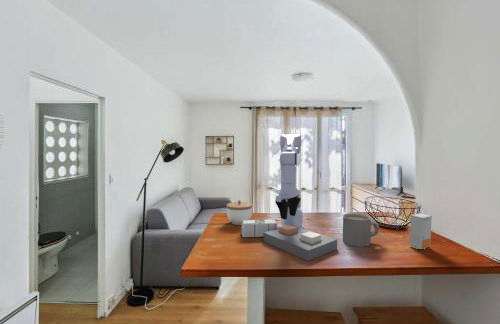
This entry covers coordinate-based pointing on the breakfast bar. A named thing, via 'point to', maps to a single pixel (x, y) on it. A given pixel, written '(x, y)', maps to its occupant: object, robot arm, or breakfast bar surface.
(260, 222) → the syrup box
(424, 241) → the skincare box
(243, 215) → the lidded bowl
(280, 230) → the terracotta key
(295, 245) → the key board
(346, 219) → the coffee mug
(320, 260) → the breakfast bar surface
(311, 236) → the cream key
